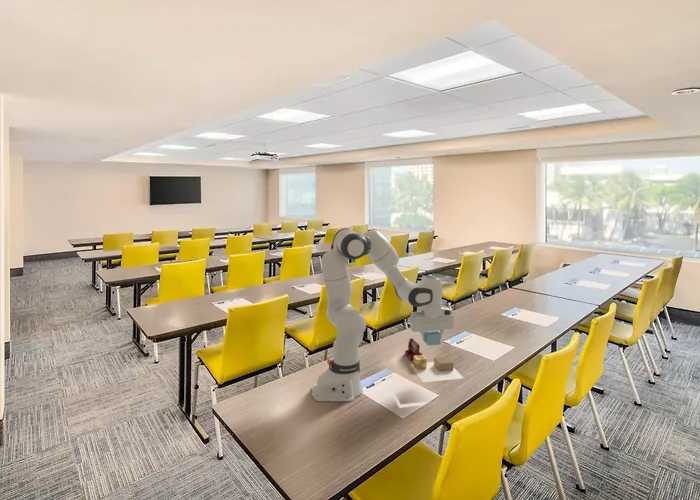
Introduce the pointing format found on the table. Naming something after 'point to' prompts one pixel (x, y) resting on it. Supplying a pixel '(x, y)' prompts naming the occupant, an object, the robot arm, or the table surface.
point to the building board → (438, 370)
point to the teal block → (432, 337)
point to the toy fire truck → (412, 350)
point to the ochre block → (420, 362)
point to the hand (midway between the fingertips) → (431, 339)
